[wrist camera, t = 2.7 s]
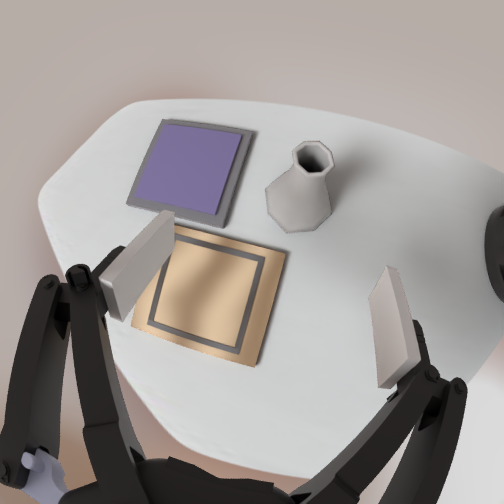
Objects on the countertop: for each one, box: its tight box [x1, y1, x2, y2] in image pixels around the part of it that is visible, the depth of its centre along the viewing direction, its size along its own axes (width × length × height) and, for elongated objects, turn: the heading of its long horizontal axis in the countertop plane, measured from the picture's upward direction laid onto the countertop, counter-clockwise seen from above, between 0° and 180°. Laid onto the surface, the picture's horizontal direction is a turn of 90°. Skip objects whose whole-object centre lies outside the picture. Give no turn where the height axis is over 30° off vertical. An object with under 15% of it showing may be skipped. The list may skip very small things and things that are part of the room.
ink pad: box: [126, 119, 253, 229], centre depth 30 cm, size 12×12×1 cm
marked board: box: [131, 225, 286, 368], centre depth 27 cm, size 14×12×1 cm
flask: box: [265, 141, 335, 233], centre depth 24 cm, size 7×7×10 cm
